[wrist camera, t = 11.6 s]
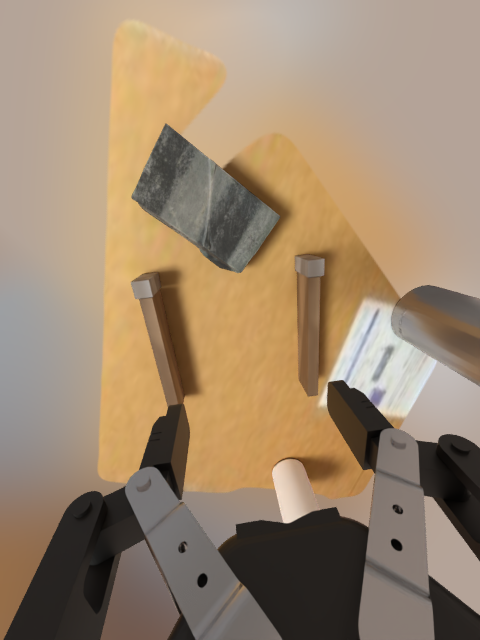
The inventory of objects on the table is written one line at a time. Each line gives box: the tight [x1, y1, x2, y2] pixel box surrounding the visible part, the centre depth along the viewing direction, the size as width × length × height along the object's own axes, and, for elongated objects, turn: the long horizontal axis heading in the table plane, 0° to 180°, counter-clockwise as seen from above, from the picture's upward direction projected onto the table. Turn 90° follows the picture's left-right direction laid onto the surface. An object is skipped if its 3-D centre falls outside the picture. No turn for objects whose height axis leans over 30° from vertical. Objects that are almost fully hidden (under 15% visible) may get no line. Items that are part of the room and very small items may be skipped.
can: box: [272, 459, 320, 523], centre depth 43 cm, size 6×6×12 cm
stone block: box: [132, 124, 280, 273], centre depth 28 cm, size 9×14×5 cm, turn 55°
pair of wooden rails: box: [131, 254, 324, 407], centre depth 34 cm, size 22×20×5 cm
